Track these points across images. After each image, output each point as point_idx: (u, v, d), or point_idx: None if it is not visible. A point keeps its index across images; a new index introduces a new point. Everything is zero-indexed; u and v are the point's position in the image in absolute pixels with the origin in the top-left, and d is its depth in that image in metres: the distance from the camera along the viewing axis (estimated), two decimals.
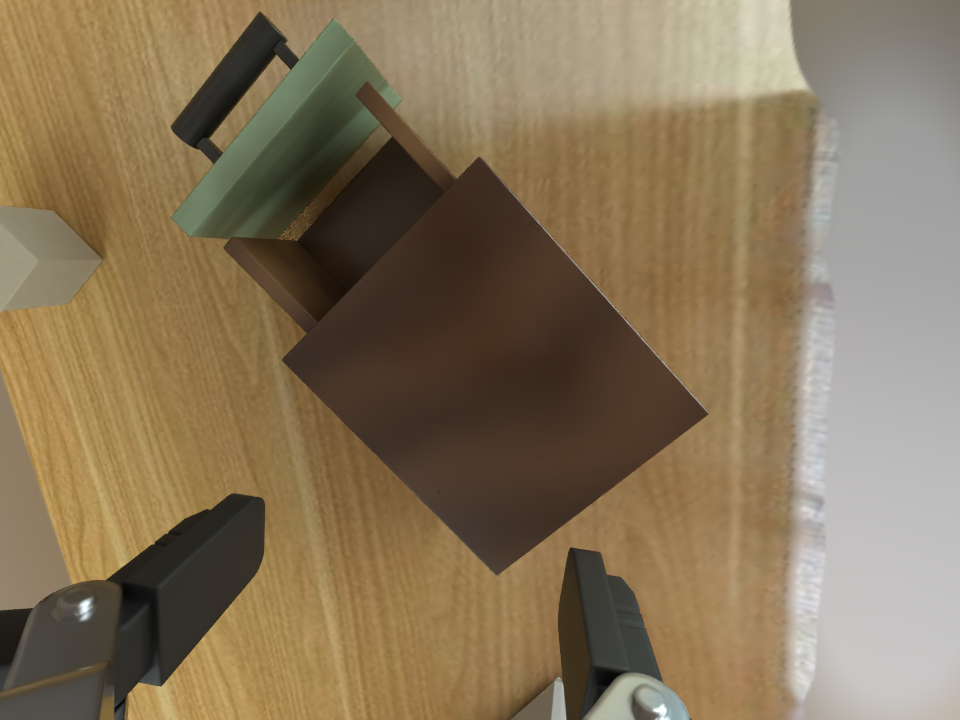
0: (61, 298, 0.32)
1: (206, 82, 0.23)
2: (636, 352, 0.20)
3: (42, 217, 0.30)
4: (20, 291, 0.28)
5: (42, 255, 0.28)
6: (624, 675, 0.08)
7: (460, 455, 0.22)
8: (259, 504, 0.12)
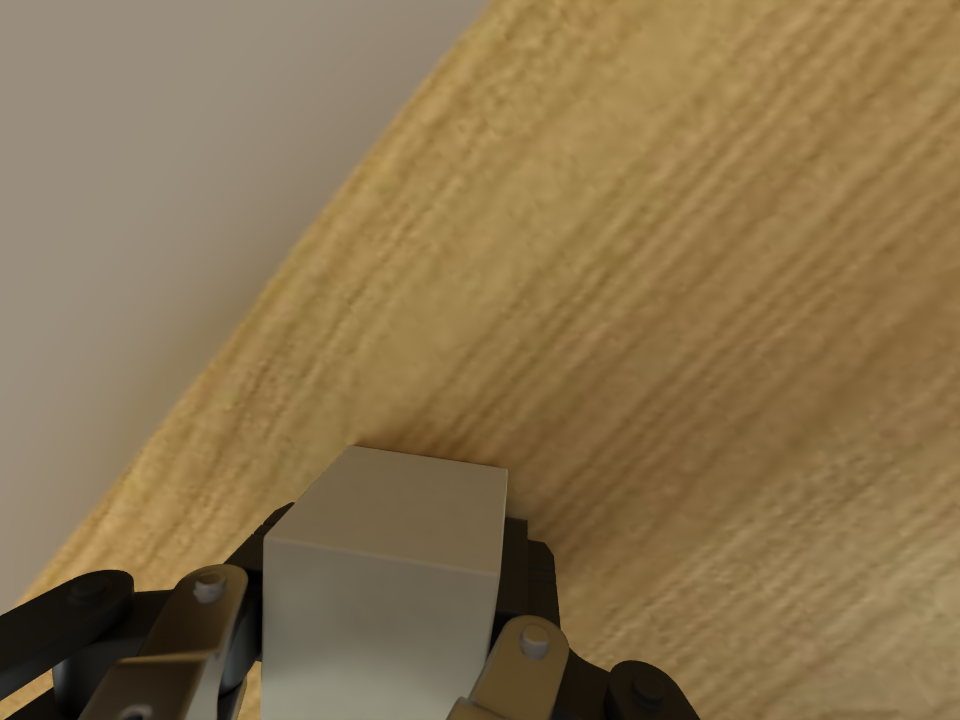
0: None
1: None
2: None
3: None
4: None
5: None
6: (519, 617, 0.09)
7: None
8: None
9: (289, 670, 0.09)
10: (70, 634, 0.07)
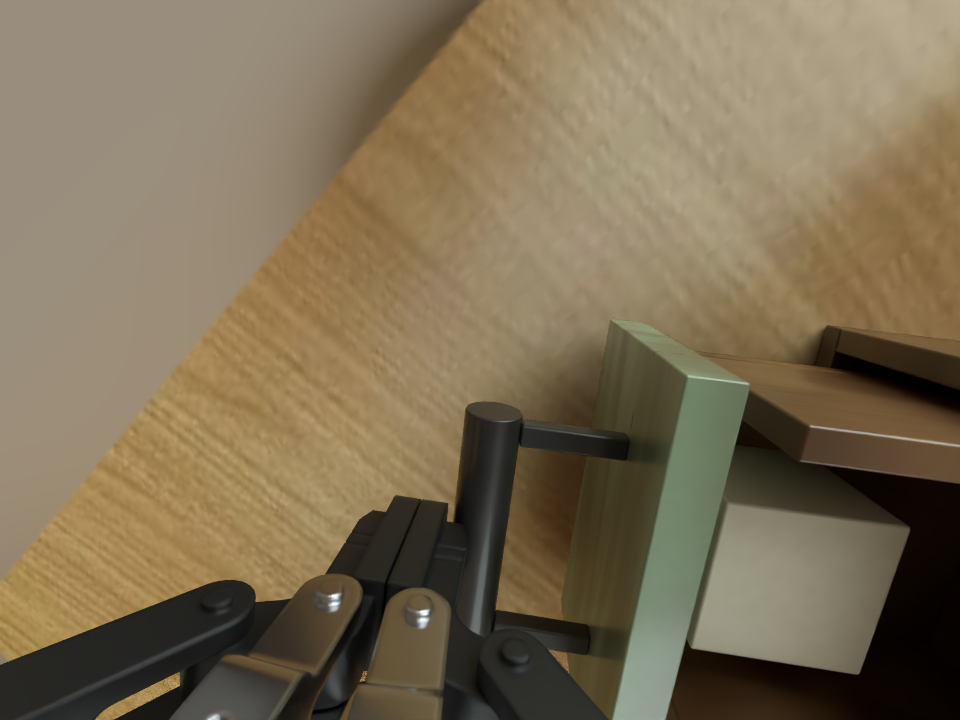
0: None
1: None
2: None
3: None
4: (871, 611, 0.12)
5: (880, 514, 0.12)
6: (410, 589, 0.09)
7: None
8: (419, 505, 0.13)
9: (806, 648, 0.12)
10: (187, 646, 0.08)
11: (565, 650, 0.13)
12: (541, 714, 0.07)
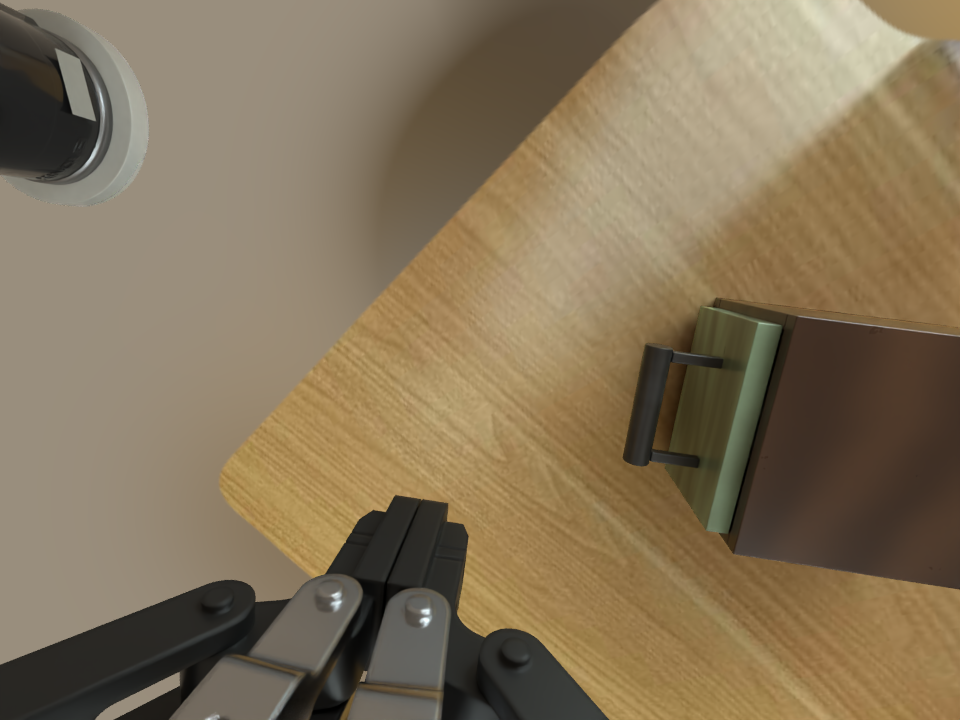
0: None
1: (639, 417, 0.27)
2: None
3: None
4: None
5: None
6: (411, 589, 0.09)
7: (930, 528, 0.24)
8: (420, 505, 0.13)
9: None
10: (188, 646, 0.08)
11: (686, 465, 0.28)
12: (541, 714, 0.07)
